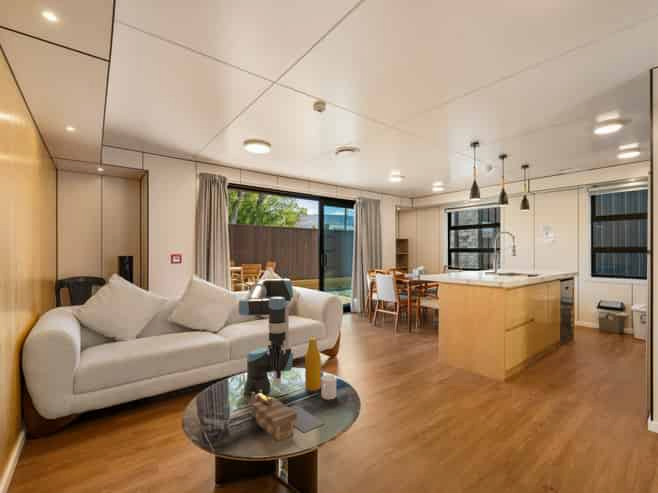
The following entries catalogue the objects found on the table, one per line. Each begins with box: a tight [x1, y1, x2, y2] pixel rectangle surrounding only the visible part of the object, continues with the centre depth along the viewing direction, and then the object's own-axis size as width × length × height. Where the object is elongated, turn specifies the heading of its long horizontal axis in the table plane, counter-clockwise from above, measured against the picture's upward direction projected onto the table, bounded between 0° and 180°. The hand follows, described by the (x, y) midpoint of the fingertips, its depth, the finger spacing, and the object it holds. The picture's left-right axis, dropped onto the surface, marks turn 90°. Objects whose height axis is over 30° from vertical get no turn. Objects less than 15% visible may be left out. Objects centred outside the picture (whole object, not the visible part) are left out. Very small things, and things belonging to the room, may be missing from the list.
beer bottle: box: [304, 337, 322, 392], centre depth 189 cm, size 9×9×29 cm
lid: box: [253, 396, 297, 428], centre depth 145 cm, size 21×11×4 cm, turn 39°
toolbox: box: [251, 390, 294, 442], centre depth 148 cm, size 28×8×11 cm, turn 39°
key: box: [257, 393, 272, 405], centre depth 152 cm, size 11×2×3 cm, turn 39°
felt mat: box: [288, 404, 325, 434], centre depth 154 cm, size 24×12×1 cm, turn 39°
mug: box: [320, 374, 337, 401], centre depth 176 cm, size 12×8×10 cm
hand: (277, 384), depth 143 cm, fingers closed
